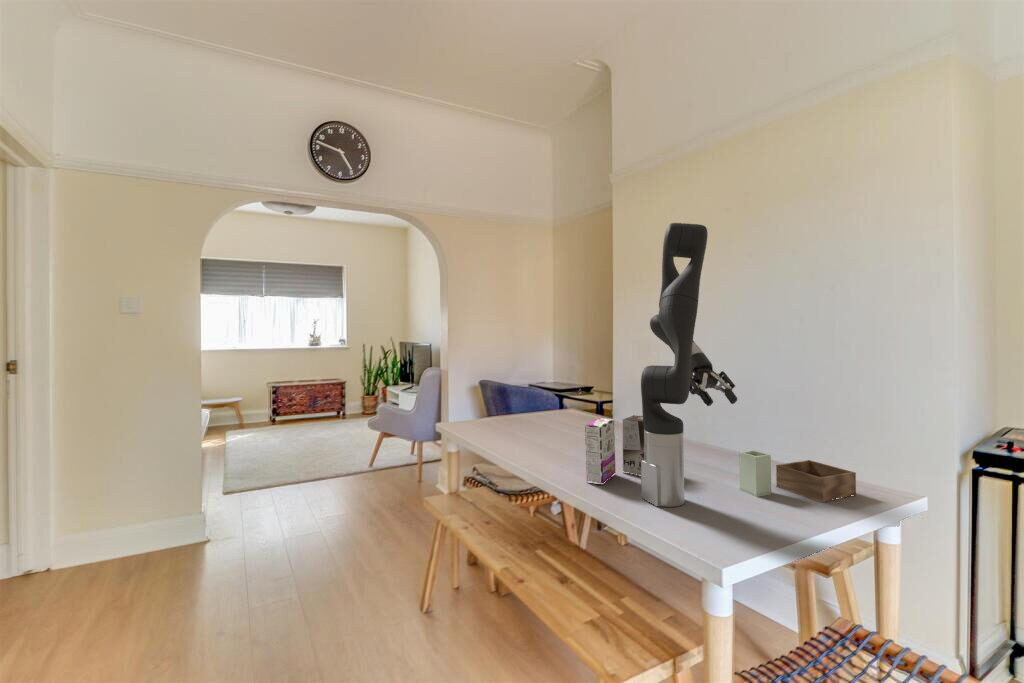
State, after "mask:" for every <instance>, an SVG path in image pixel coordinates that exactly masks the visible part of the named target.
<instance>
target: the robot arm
mask: <svg viewBox="0 0 1024 683" xmlns="http://www.w3.org/2000/svg"><path fill="white" fill-rule="evenodd" d="M707 243H708V228H707V227H706V226H705V225H704V224H698V223H687V222H686V223H684V222H683V223H681V222H672V223H669V224H668V226H667V227H666V230H665V233H664V237H663V243H662V244H663V245H662V259H661V260H662V262H661V263H662V265H661V288H660V289H661V290H660V295H659V301H658V308H659V310H658V314H655V315H653V316H652V317H651V318H650V321H649V327H650V330H651V332H652V333H653V335H655V336H656V337H657V338H658V339H659V340H660V341H662V342H663V343H664V344H665V345H667V346H668V347H669V348H670V349H671V351H672V353H673V354H674V364H673V365H647V366H645V367H644V368H643V370H642V372H641V376H640V377H641V378H640V394H641V408H642V409H641V410H642V411H641V412H642V416H643V422H644V460H642V461H641V476H640V477H641V478H640V479H641V480H640V482H641V485H640V486H641V488H640V489H641V493H640V494H641V499H642V498H643V499H642V500H644V499H645V500H644V501H646V500H647V501H646V502H648V503H649V502H650V503H649V504H651V503H652V504H651V505H653V504H654V505H653V506H655V507H657V506H658V507H666V508H668V507H679V506H682V505H684V503H685V452H684V451H685V447H684V445H685V444H684V443H685V441H684V440H685V439H684V437H685V436H684V435H685V434H684V433H685V432H684V422H683V420H682V419H681V418H679V417H678V416H675V415H673V414H671V413H670V412H668V411H667V410H665V409H664V408H663V407H662V404H666V405H667V404H669V405H684V404H685V403H686V402H687V401H688V398H689V395H690V394H691V395H692V396H694V395H697V396H698V397H700V399H701V400H702V401H703V403H704V404H705V405H706V406H707V407H710V406H712V404H714V400H713V399H712V397H711V395H710V394H709V392H708V391H707V389H714V390H716V391H719V392H721V393H723V394H724V396H725V397H726V399H727V400H728V402H729V403H730V405H735V404H736V402H737V401H738V397H737V396H736V394H735V393H734V391H733V389H735V387H736V384H735V383H734V382H733V381H732V380H731V379H730V377H729V376H728V375H727V374H726V373H725V371H723V370H722V371H720V373H716V372H715V371H714V370H713V364H712V361H710V359H709V358H708V357H707V355H706V353H704V352H703V350H702V348H701V347H700V346H699V345H698V344H697V343H696V342H695V341H694V336H695V326H696V323H697V322H696V321H697V317H698V316H697V315H698V309H699V308H698V307H699V299H700V298H699V295H700V286H701V275H702V270H703V266H704V264H703V263H704V260H705V254H706V249H707V245H708V244H707ZM674 258H683V259H690V260H689V262H688V264H687V266H686V267H685V268H684V269H683V270H682V272H681V273H679V271H678V269H677V267H676V265H675V260H674ZM718 383H719V384H718Z"/></svg>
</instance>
